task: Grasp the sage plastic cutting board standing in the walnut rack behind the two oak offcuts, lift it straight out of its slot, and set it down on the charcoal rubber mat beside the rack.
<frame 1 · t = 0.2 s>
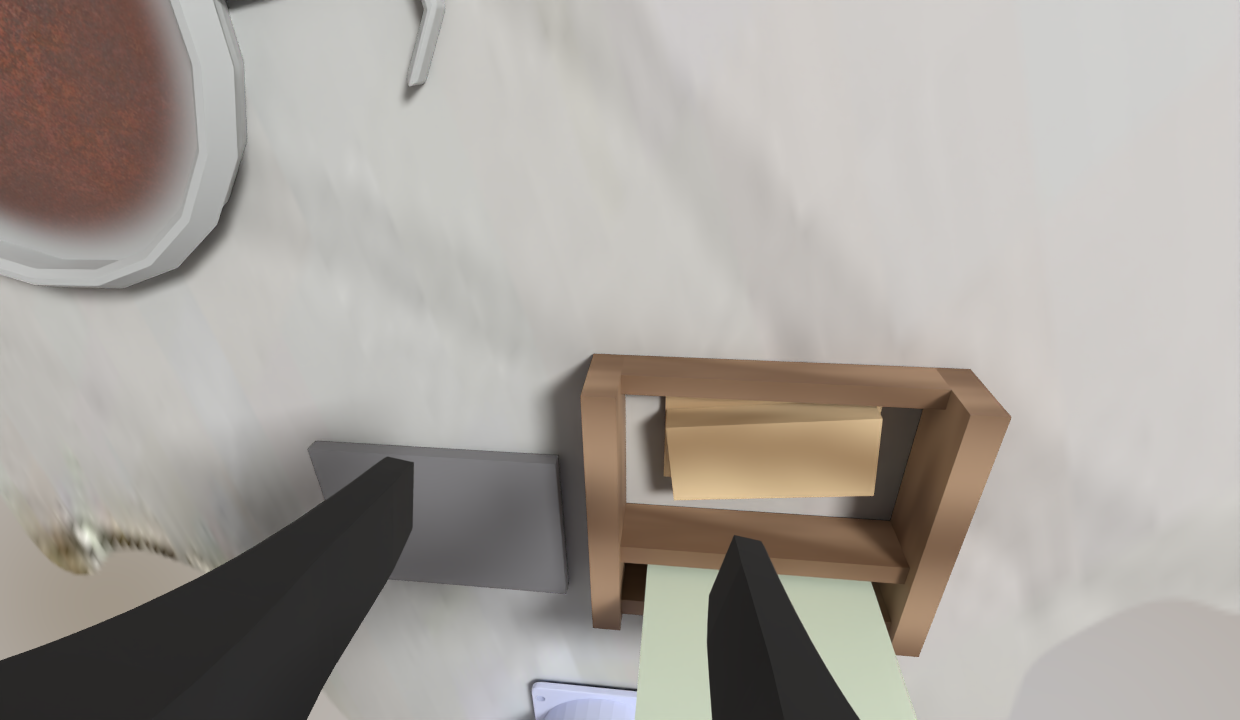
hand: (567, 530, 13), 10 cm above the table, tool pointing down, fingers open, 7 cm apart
board: (750, 544, 26), on the table
mat: (448, 516, 27), on the table
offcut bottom: (762, 425, 24), on the table, touching offcut top
rack: (758, 486, 24), on the table
offcut top: (767, 442, 22), resting on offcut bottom
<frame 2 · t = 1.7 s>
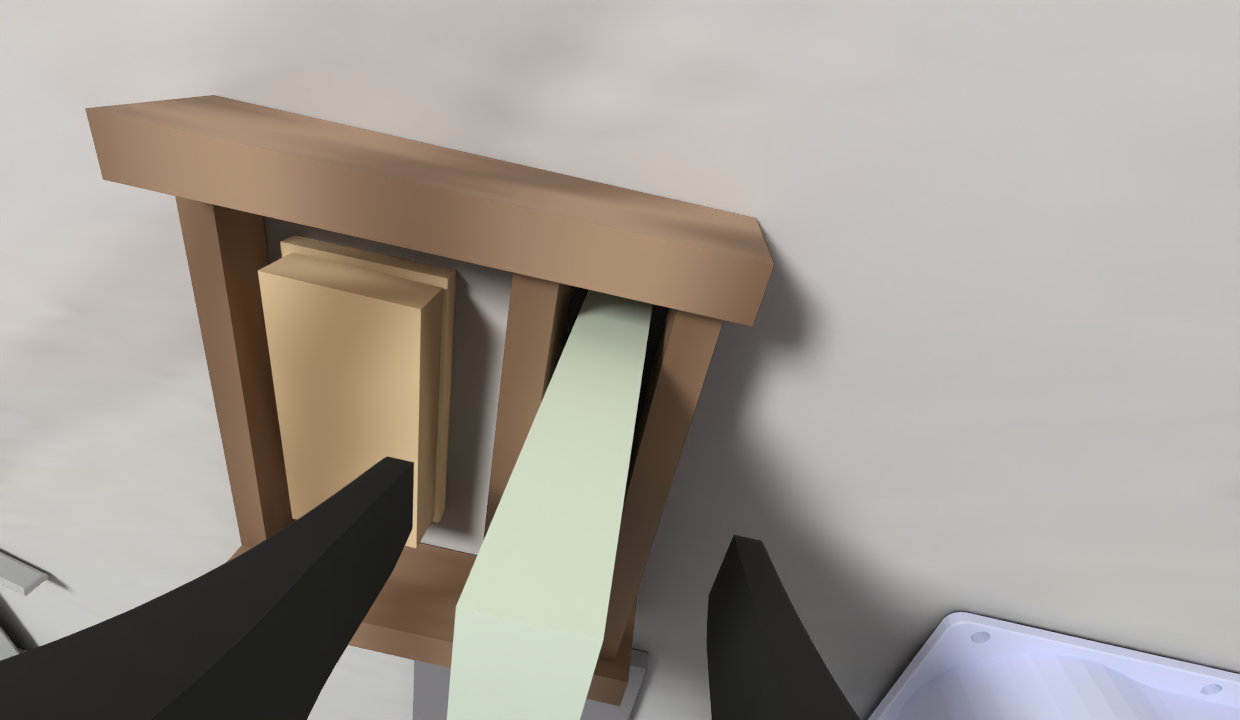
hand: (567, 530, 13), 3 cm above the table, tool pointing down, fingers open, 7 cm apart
board: (591, 437, 16), on the table
frying pan: (58, 669, 26), on the table
mat: (518, 713, 23), on the table
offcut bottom: (390, 377, 16), on the table, touching offcut top
rack: (466, 410, 16), on the table
offcut top: (371, 401, 15), point 1 cm above the table, touching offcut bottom
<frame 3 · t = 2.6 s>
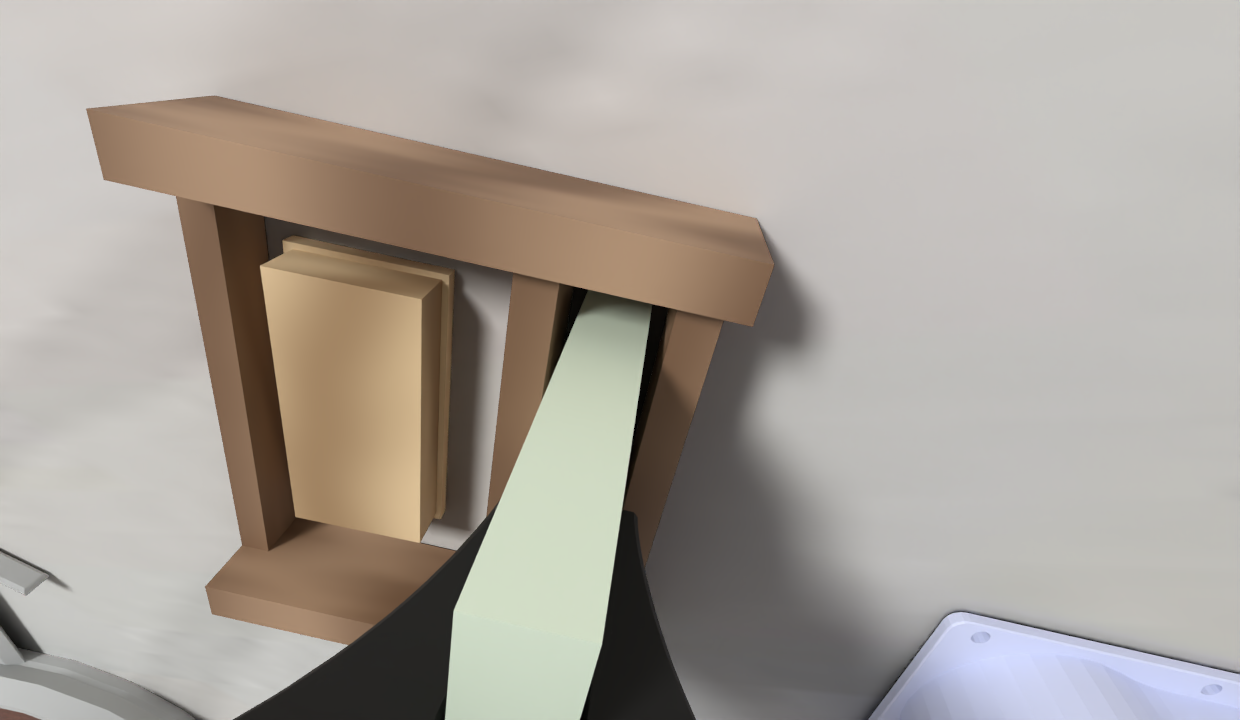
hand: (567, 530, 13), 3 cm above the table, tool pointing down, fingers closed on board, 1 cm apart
board: (590, 438, 16), on the table, touching gripper
frying pan: (58, 669, 26), on the table
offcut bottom: (391, 375, 16), on the table, touching offcut top
rack: (466, 411, 16), on the table
offcut top: (373, 396, 15), resting on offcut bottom
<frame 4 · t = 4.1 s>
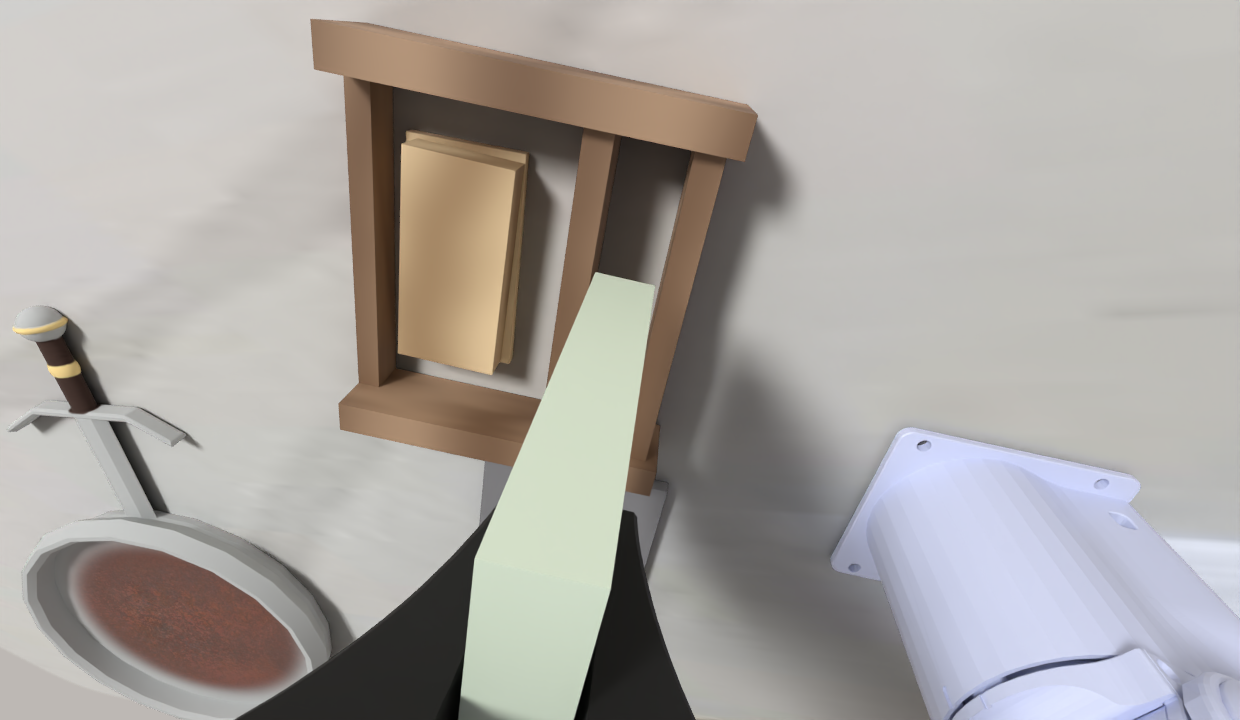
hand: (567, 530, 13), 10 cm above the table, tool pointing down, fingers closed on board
board: (593, 424, 16), point 6 cm above the table, touching gripper
frying pan: (175, 533, 31), on the table
mat: (562, 549, 28), on the table
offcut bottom: (473, 248, 22), on the table, touching offcut top
rack: (533, 269, 21), on the table
offcut top: (462, 259, 21), resting on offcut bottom
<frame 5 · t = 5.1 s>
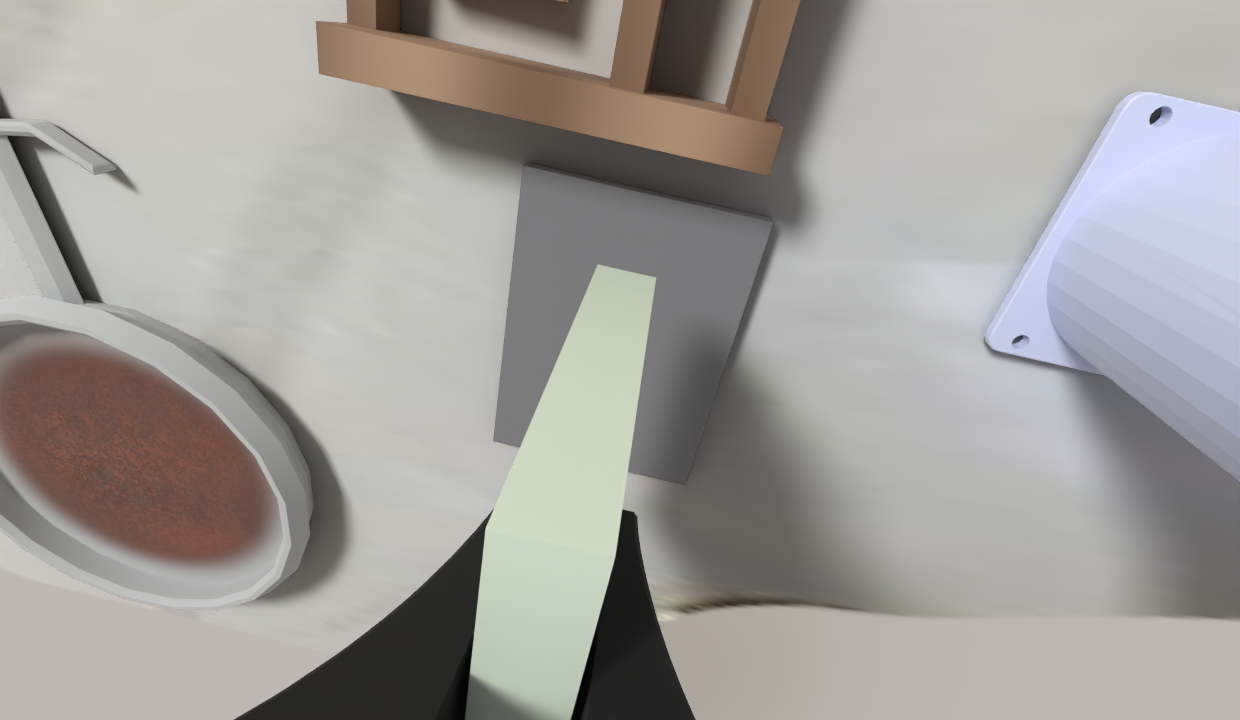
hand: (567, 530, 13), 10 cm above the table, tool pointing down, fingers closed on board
board: (596, 415, 17), point 5 cm above the table, touching gripper
frying pan: (114, 343, 24), on the table
mat: (616, 338, 21), on the table
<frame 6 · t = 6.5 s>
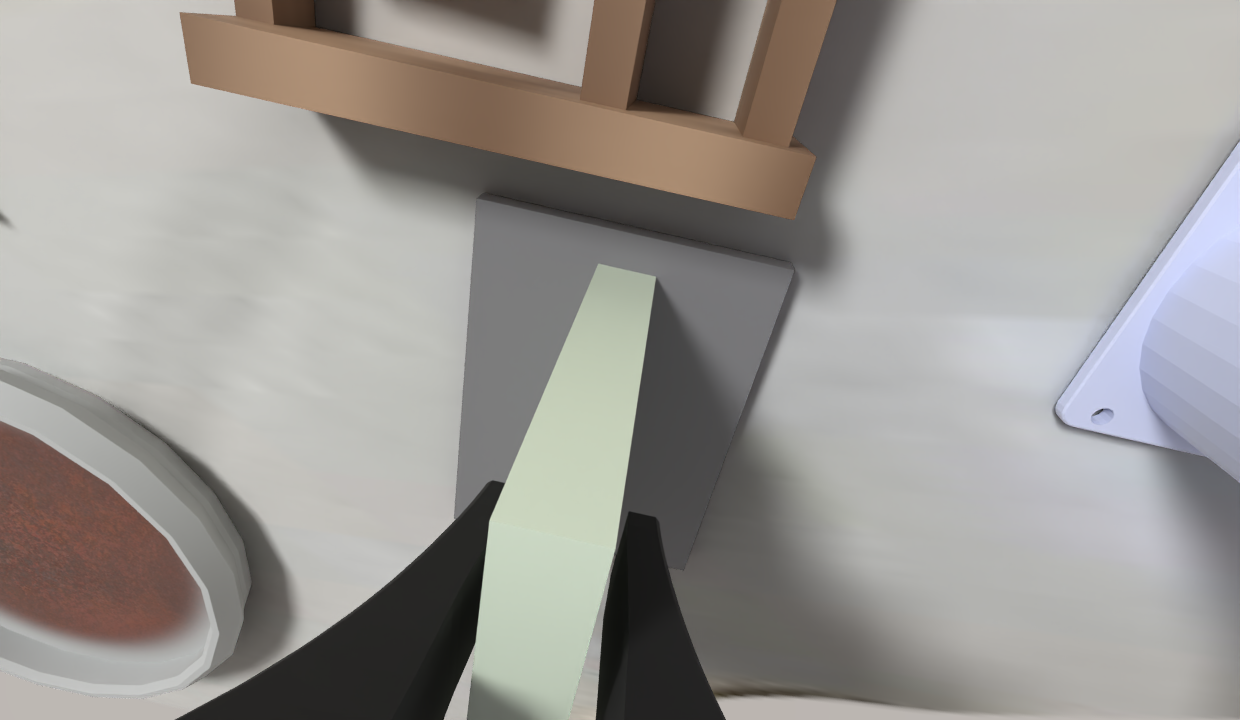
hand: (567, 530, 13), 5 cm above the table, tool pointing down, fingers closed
board: (596, 412, 17), point 1 cm above the table, touching mat
frying pan: (6, 398, 21), on the table
mat: (599, 403, 17), on the table
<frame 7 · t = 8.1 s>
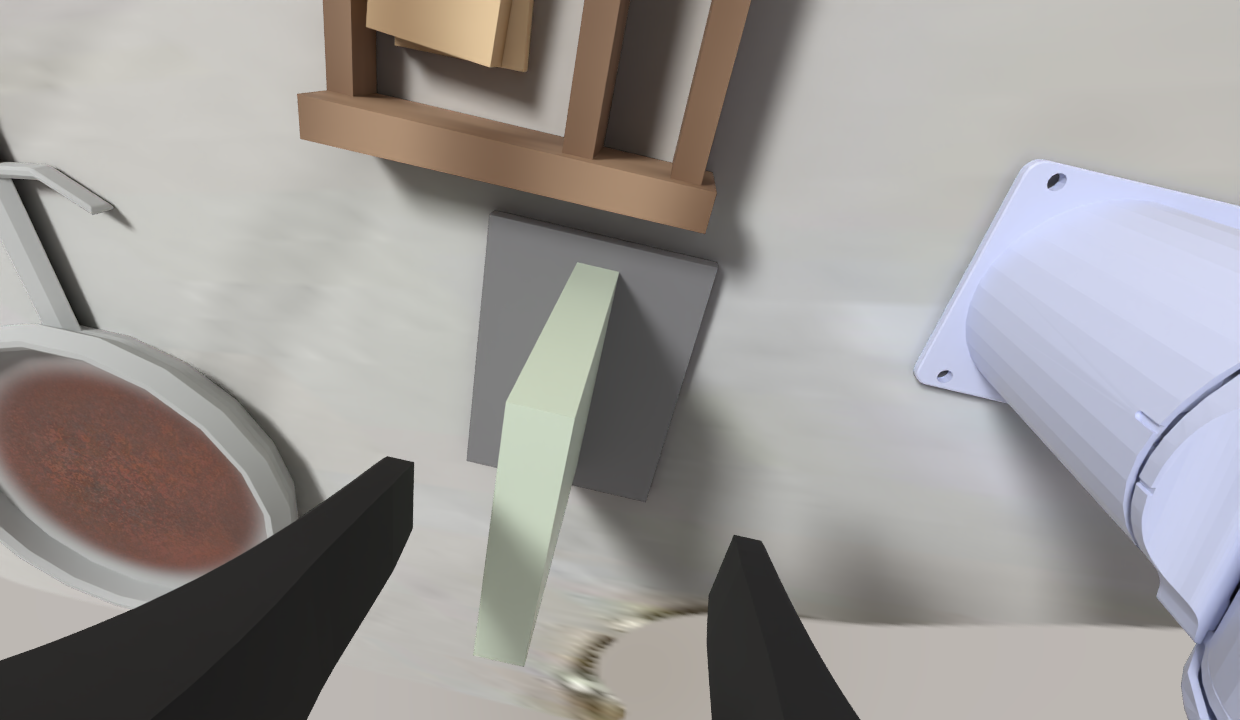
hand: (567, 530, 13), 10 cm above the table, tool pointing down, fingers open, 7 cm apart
board: (576, 374, 22), point 1 cm above the table, touching mat
frying pan: (109, 365, 26), on the table
mat: (579, 368, 23), on the table
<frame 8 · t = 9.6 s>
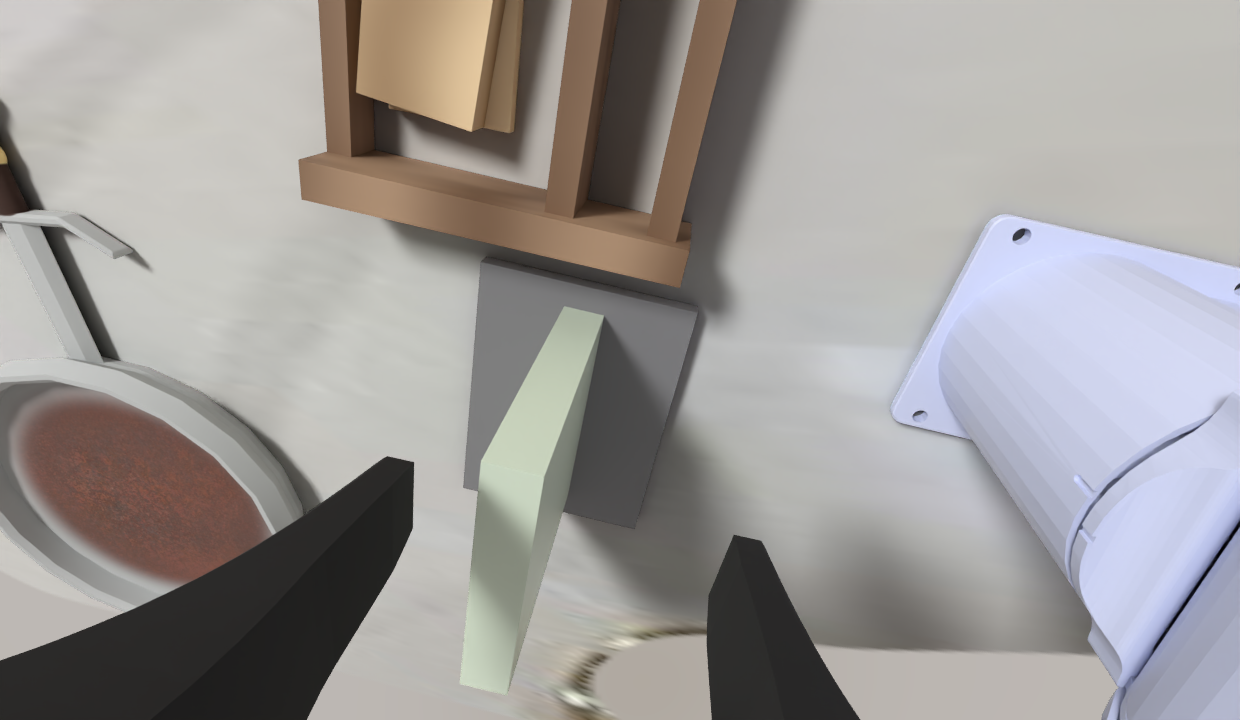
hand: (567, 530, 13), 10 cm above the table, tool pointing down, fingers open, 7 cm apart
board: (566, 409, 23), point 1 cm above the table, touching mat
frying pan: (129, 392, 27), on the table
mat: (569, 402, 24), on the table
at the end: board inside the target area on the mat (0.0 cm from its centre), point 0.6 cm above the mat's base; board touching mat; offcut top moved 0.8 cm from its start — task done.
